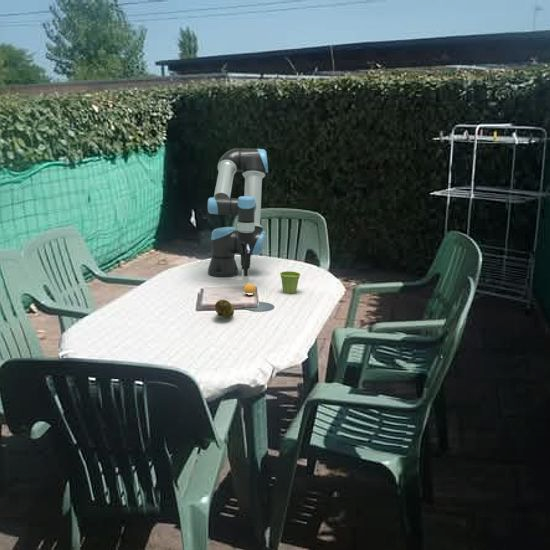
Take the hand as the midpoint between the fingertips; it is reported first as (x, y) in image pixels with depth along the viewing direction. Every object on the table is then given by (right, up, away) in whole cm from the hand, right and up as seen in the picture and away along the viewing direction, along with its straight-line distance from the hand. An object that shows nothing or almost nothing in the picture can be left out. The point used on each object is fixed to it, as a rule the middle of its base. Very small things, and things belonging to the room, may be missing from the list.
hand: (245, 282), depth 267 cm
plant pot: (+20, -5, -1) cm, 21 cm away
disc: (+7, -10, -24) cm, 26 cm away
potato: (-6, -13, -38) cm, 41 cm away
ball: (+2, -3, -8) cm, 9 cm away
